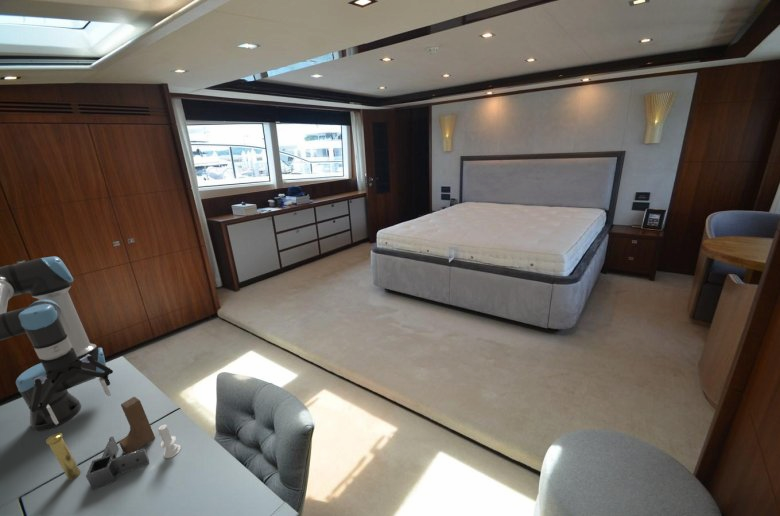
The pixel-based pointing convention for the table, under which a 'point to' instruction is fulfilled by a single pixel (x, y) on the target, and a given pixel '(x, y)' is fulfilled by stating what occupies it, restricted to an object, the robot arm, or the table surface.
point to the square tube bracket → (113, 464)
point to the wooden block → (136, 426)
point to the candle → (168, 442)
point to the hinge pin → (63, 455)
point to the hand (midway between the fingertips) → (83, 407)
